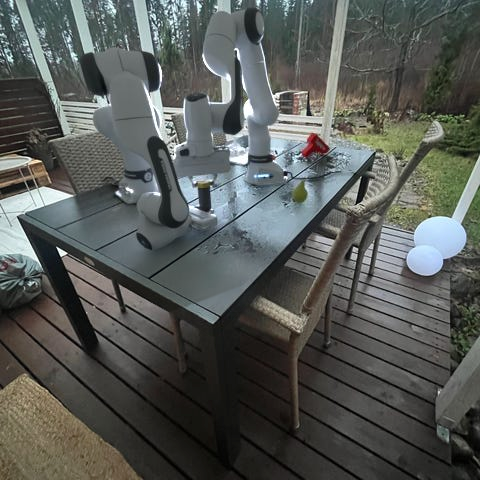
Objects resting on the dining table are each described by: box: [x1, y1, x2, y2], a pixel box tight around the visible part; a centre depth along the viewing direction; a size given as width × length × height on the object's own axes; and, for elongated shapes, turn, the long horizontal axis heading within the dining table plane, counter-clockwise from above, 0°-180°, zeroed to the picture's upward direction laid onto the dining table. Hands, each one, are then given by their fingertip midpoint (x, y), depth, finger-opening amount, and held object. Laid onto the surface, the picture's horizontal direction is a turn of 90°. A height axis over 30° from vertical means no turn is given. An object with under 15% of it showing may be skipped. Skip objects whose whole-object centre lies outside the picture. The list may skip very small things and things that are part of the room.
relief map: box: [225, 142, 249, 166], centre depth 183 cm, size 27×35×5 cm
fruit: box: [291, 174, 311, 204], centre depth 118 cm, size 7×8×12 cm
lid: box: [196, 178, 211, 188], centre depth 99 cm, size 5×5×2 cm
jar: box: [196, 186, 213, 212], centre depth 103 cm, size 5×5×16 cm
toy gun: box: [300, 132, 330, 159], centre depth 180 cm, size 18×4×15 cm
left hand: (207, 208), depth 105 cm, fingers closed on jar, 4 cm apart
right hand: (203, 186), depth 100 cm, fingers open, 5 cm apart
